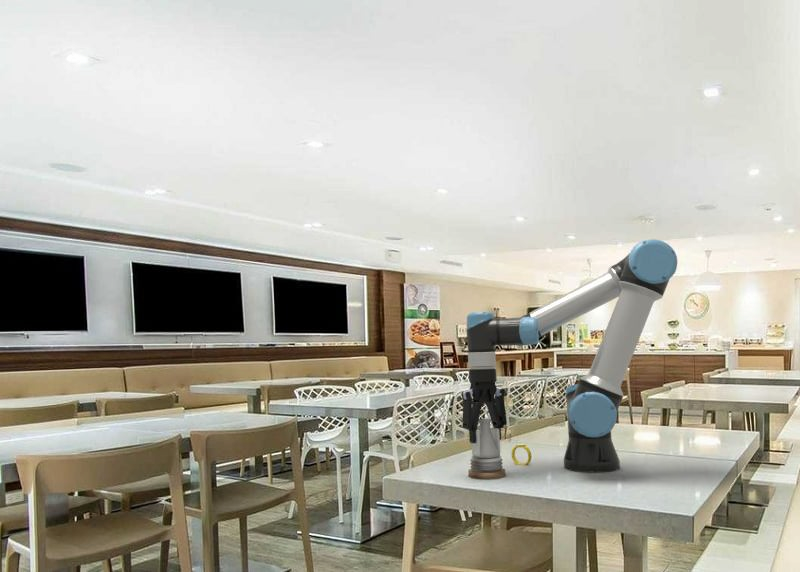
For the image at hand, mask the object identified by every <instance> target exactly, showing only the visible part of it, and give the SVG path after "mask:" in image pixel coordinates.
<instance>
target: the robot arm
mask: <svg viewBox="0 0 800 572" xmlns="http://www.w3.org/2000/svg"><path fill="white" fill-rule="evenodd" d="M677 268H678V256H677V254H676V252H675V250H674V248H672V246H671V245H670V244H668V243H667V242H665V241H664V240H660V239H653V238H652V239H651V238H650V239H645V240H642V241H640V242H638V243H636V244H635V245H634V246H633V247H632V249H631V250H630V252H629V253H628V254H627V255H626V256H625V257H624V258H623V259H621V260H620V261H618V262H617V263H616V264H614V265H611V266H609V267H608V270H607V271H606V273H604V274H602V275H600V276H598V277H596V278H594V279H592V280H590V281H588V282H586V283H584V284H583V285H581V286H578V287H577V288H575V289H573V290H571V291H568V292H567V293H565V294H564V295H561V296H559V297H558V298H555V299H553V300H551V301H549V302H548V303H545V304H544V305H541V306H540V307H538V308H536V309H534V310H532V311H531V312H529V313H526V314H524V315H522V316H520V317H508V318H497V317H496V318H495V317H494V312H492V311H476V312H475V311H474V312H469V313H468V314H467V316H466V339H467V340H466V341H467V343H466V344H467V359H468V360H467V362H468V367H469V368H470V369H469V370H468V382H469V383H470V386H469V389H468V390H466V391H462V392H461V397H462V428H463V430H464V429H465V430H467V431H468V437H469V439H468V440H469V443H470V444H471V455H472V456H473V455H475V456H481V454H480V432H479V431H480V430H478V425H479V420H480V416H481V412H482V411H481V410H482V407H483V406H484V404H485V406H486V408H487V411H488V414H489V417H490V418H489V419H491V424H492V427H490V428H491V433H492V436H493V438H494V441H495V444H496V446H497V448H498V451H499V453H500V454H501V441H500V440H502V429H503V428H504V427H505V426H506V425H507V421H508V420H507V413H506V406H505V405H506V404H505V392H506V390H505V389H504V388H498V387H497V385H496V382H497V369H496V366H497V361H496V360H497V357H496V347H497V346H498V347H500V346H517V347H523V346H530V345H537V344H539V342H540V341H539V340H540V337H542V336H544V335H545V334H548V333H550V332H552V331H553V330H555V329H557V328H558V329H559V328H560V327H561V326H565V325H566V324H567V323H569V322H572V321H573V320H575V319H577V318H579V317H581V316H584V315H586V314H587V313H589V312H592V311H593V310H595V309H597V308H600V307H601V306H603V305H605V304H607V303H609V302H611V301H613V300H615V299H617V301H616V302H615V306H614V308H613V311H612V313H611V315H610V316H611V317H610V318H609V320H608V323H607V325H606V329H605V331H604V333H603V337H602V338H601V342H600V344H599V346H598V349H597V351H596V354H595V356H594V359H593V361H592V364H591V366H590V369H589V371H588V373H587V374H586V375H584V376H581V377H580V378H579V381H578V383H577V384H570V385H568V386H567V387H566V389H565V390H566V391H565V399H566V414H567V415H566V416H567V430H568V431H567V433H568V434H567V435H568V442H567V445H566V450H565V453H564V456H563V457H564V458H563V468H564V469H567V470H571V471H575V472H582V473H584V472H586V473H604V472H605V473H606V472H615V471H618V470H619V469H620V468H621V464H620V463H621V462H620V459H619V456H618V453H617V450H616V448H615V445H614V442H613V440H612V430H613V428H614V427H615V426H616V423H617V418H618V412H619V408H620V406H621V404H622V400H623V398H624V393H623V390H622V387H621V386H622V384H623V381H624V379H625V376H626V373H627V371H628V368H629V366H630V364H631V360H632V358H633V355H634V353H635V351H636V348H637V346H638V343H639V341H640V338H641V335H642V333H643V331H644V328H645V326H646V322H647V320H648V318H649V315H650V313H651V310H652V307H653V305H654V303H655V302H656V301H659V300H660V299H661V300H662V299H663V297H664V294H665V292H666V289H667V287H668V283H669V281H670V279H671V278H672V277H673V275H675V273H676V271H677Z"/></svg>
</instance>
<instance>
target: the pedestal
mask: <svg viewBox="0 0 800 572" xmlns="http://www.w3.org/2000/svg"><path fill="white" fill-rule="evenodd" d="M469 460H470V468H469V469H468V472H467V476H468V477H469V478H471V479H474V480H498V479H503V478H505V477H507V476H506V475H507V473H506V471H507V470H506V469H505V468H504V466H503V458H502V456H501V455H500V456H498V457H495V458H478V457H472V456H471V458H470V459H469Z"/></svg>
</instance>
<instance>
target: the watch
mask: <svg viewBox="0 0 800 572" xmlns="http://www.w3.org/2000/svg"><path fill="white" fill-rule="evenodd" d="M518 448H523V449H524V450H525V451H526V452H527V460H526V462H523V463H522V462H519V461H518V460H517V458H516V450H517V449H518ZM511 459H512V461H513V463H514V464H515V465H517V464H518V465H519V466H521V465H522V466H528V465H529V464H530V463H531V461H532V453H531V451H530V448H529V447H528V446H527V445H526V444H525V443H517V444H516V445H515V446H514V447H513V448H512V451H511ZM518 465H517V466H518Z"/></svg>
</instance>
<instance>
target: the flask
mask: <svg viewBox="0 0 800 572" xmlns="http://www.w3.org/2000/svg"><path fill="white" fill-rule="evenodd" d="M478 423H479V430H478V431H479V432H480V454H481V456H475V455H472V456H471V457H478V458H495V457H498V456H501V452H500V453H499V451H498V448H497V446H496V444H495V441H494V438H493V436H492V433H491V428H492V427H491V423H492V421H491V418H479V421H478Z"/></svg>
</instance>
